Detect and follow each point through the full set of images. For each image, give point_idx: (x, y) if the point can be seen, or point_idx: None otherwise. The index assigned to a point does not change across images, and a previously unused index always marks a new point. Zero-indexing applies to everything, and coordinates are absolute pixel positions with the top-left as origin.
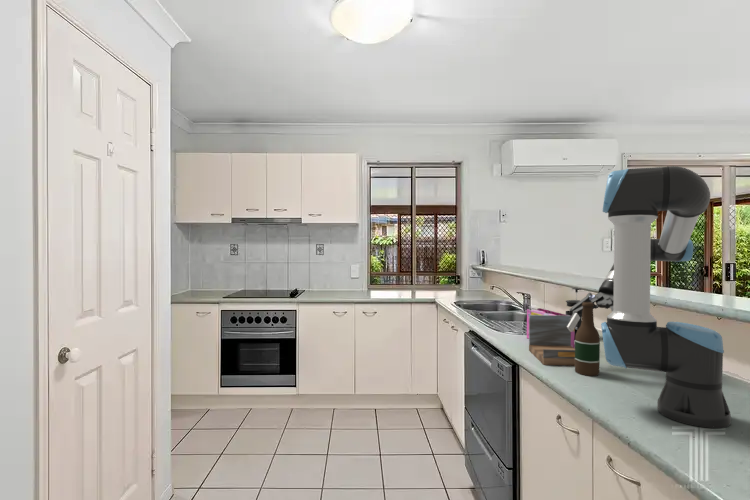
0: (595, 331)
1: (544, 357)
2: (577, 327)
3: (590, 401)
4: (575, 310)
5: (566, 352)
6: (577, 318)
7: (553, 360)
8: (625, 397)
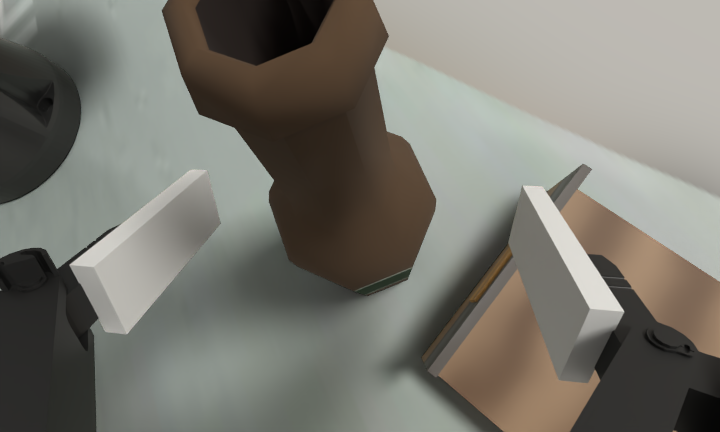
0: (274, 183)
1: (561, 181)
2: None
3: None
4: (671, 355)
5: (503, 259)
6: (554, 317)
7: None
8: (168, 112)
